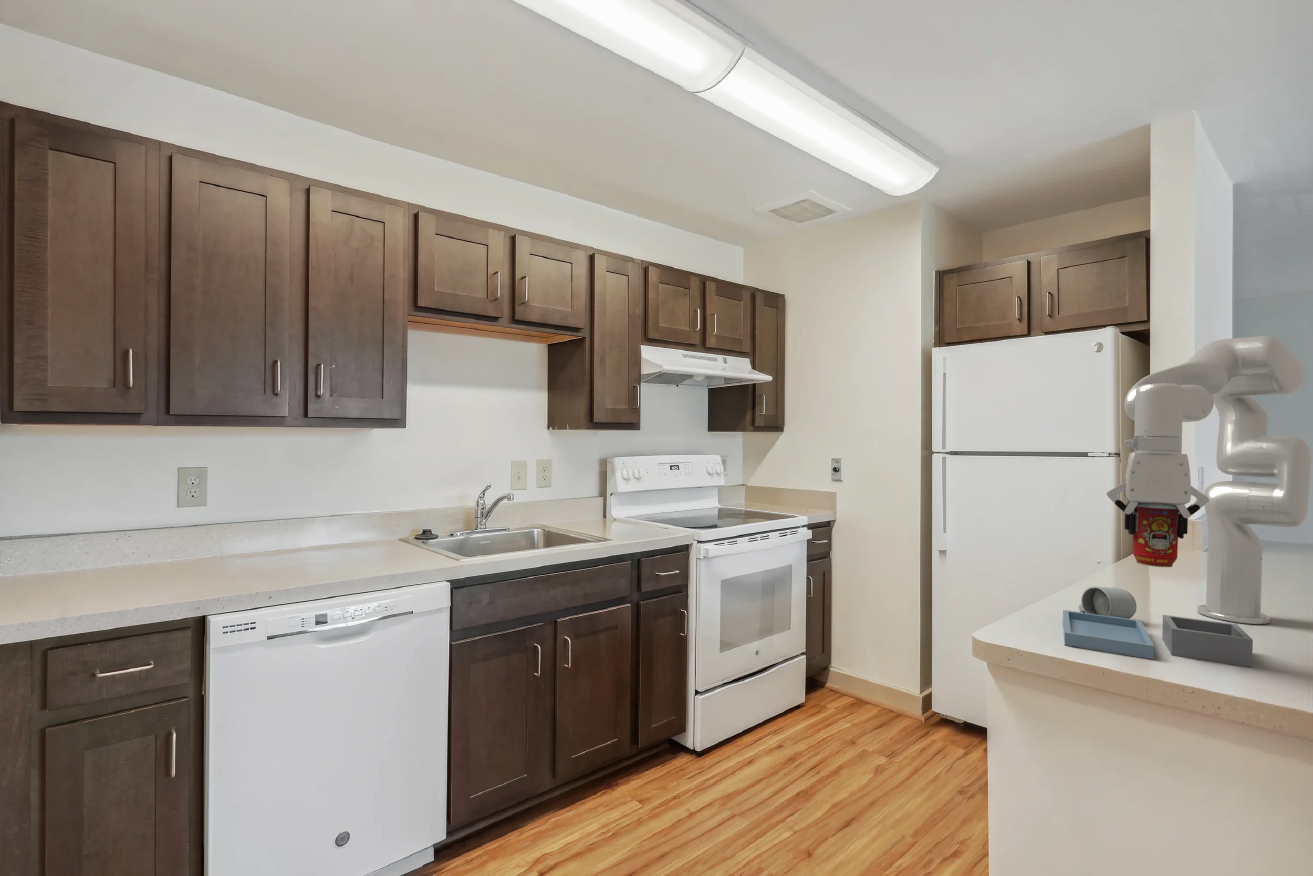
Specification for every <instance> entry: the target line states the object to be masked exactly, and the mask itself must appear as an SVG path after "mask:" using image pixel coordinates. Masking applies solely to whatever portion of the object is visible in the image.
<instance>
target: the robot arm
mask: <svg viewBox="0 0 1313 876" xmlns="http://www.w3.org/2000/svg"><path fill="white" fill-rule="evenodd" d="M1304 379H1305V371H1304V367H1303V365H1302V362H1301V361H1300V359H1299V358H1298V357H1297V356H1296V354H1295V353H1294V352H1293V351H1292V350H1291V349H1290V347H1289V346H1287V344H1286V343H1284V342H1283V341H1282V340H1280V339H1279V338H1276V337H1274V336H1270V335H1257V336H1248V337H1237V338H1236V337H1234V338H1224V339H1217V340H1214V341H1211V342H1209V343H1206V344H1205V345H1204V346H1202V347H1201V348H1200V349H1199V350H1198V351H1197V352H1196V353H1195V354H1194V355H1192V356H1191V358H1189V359H1188V360H1187V361H1186V362H1184V363H1181V364H1177V365H1174V366H1171V367H1169V368H1166V369H1163V370H1160V371H1156V372H1153V373H1151V374H1148V375H1146V376H1144V377H1142V378H1140V380H1138V381H1137V382H1136V383H1135V384H1134V385H1132V387H1131V388H1130V389H1129V390H1128V392H1127V394H1126V395H1125V398H1124V405H1123V406H1124V407H1123V408H1124V412H1125V414H1126V415H1127V417H1128V418H1129V419H1131V420H1133V422H1134V429H1133V430H1134V435H1133V438H1131V439H1125V441H1124V445H1125V447H1130V448H1131V449H1133V452H1129V455H1128V459H1127V463H1126V470H1125V477H1124V481H1123V482H1122V483H1120V484H1118V485H1117V486H1115V487H1113V488H1112V489H1110V490H1108V491H1107V492H1106V496H1107V497H1108V499H1110V501H1112V502H1113V504H1114V505H1115V506H1117V507H1118V508H1119V509H1120V510H1121V511H1122V512H1123V514H1124V525H1123V526H1124V528H1123V529H1124V530H1127V533H1128V535H1132V536H1133V534H1134V529H1135V515H1134V509H1135V507H1136V506H1137V504H1138V503H1154V504H1171V505H1175V506H1176V507H1177V508H1178V510H1179V516H1178V539H1184V535H1187V534H1188V530H1189V528H1188V526H1189V525H1188V522H1189V519H1190V517H1191V516H1193V515H1194V514H1195V513H1197V512H1198V511H1200V510H1201V509H1202V507H1204V510H1205V514H1206V515H1205V516H1206V522H1207V558H1206V563H1207V564H1206V595H1205V596H1206V597H1205V598H1206V599H1205V604H1201V605H1200V604H1199V605H1198V606H1197V610H1196V611H1197V612H1198V613H1199V614H1201V615H1203V616H1206V617H1209V618H1213V619H1217V620H1222V621H1228V622H1233V623H1241V624H1247V625H1248V624H1250V625H1251V624H1252V625H1265V624H1269V623H1270V621H1271V617H1270V616H1268V615H1267V614H1265V613H1262V611H1261V609H1262V585H1263V584H1262V581H1263V543H1262V540H1261V539H1260V537H1259V536H1258V534H1257V533H1256V532H1255V531H1254V529H1252V527H1250V525H1260V526H1269V527H1279V528H1280V527H1281V528H1297V527H1299V526H1301V525H1302V524H1304V522H1305V520H1306V519H1307V515H1308V508H1309V499H1310V498H1309V497H1310V487H1311V485H1310V484H1311V473H1312V471H1311V470H1312V453H1311V449H1310V447H1309V444H1308V443H1307V442H1306V441H1305V440H1304V439H1303V438H1300V437H1297V436H1291V435H1269V434H1268V428H1269V413H1268V412H1267V411H1266V410H1265V408H1264V407H1263V406H1262V405H1261V404H1260V403H1259V402H1258V401H1256V400H1255V399H1254V398H1252V397H1251V396H1264V395H1265V396H1269V395H1273V396H1274V395H1289V394H1292V393H1294V392H1296V391H1297V390H1299V389H1300V388H1301V386H1302V384H1303V382H1304ZM1214 406H1215V408H1216V410H1217V412H1218V416H1219V417H1218V418H1219V425H1218V432H1217V433H1218V435H1217V443H1216V444H1217V445H1216V447H1217V448H1216V467H1217V469H1218V470H1219V471H1220V472H1221V473H1223V474H1226V475H1230V476H1237V477H1239V476H1240V477H1253V478H1254V477H1255V478H1271V479H1277V480H1278V482H1279V483H1269V482H1268V483H1267V482H1256V481H1254V482H1253V481H1239V480H1237V481H1236V480H1222V481H1217V482H1216V481H1215V482H1214V483H1211V484H1210V485H1208V486H1207V487H1206V489H1205V491H1204V493H1202V492H1201V491H1200V490H1198V489H1196V488H1195V487H1193V486H1192V485H1191V469H1190V461H1189V457H1188V454H1186V453H1183V452H1182V451H1183V450H1182V449H1183V423H1189V422H1190V423H1191V422H1198V421H1199V422H1200V421H1202V420H1204V419H1206V418H1207V417H1208V416H1209V415H1210V414H1211V413H1212V411H1213V408H1214ZM1123 491H1124V492H1123ZM1120 493H1124V498H1125V499H1127V500H1128V501H1127V503H1126V504H1125V503H1124V502H1123V501H1122V500H1121V499H1120V498H1119V497H1118V495H1119V494H1120ZM1192 496H1193V497H1194V498H1195V499H1196V500H1195V502H1193V503H1192V504H1190V505H1189V506H1188V507H1186V505H1187V504H1189V503H1190V502H1191V497H1192Z"/></svg>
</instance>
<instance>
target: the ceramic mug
mask: <svg viewBox="0 0 1313 876" xmlns="http://www.w3.org/2000/svg"><path fill="white" fill-rule="evenodd" d="M1080 602H1081V603H1080V604H1079V605H1078V610H1079V612H1085V613H1089V614H1097V615H1104V616H1112V617H1119V618H1126V619H1132V618H1133V616H1135V614H1136V612H1137V601H1136V599H1135V598H1134V596H1133V594H1132V593H1130V592H1129V590H1126V589H1123V588H1121V587H1120V588H1119V587H1108V586H1094V585H1093V586H1090V587H1088V588H1087V589H1085V590H1084V591H1083V593H1082V596H1081V601H1080Z"/></svg>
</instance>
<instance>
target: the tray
mask: <svg viewBox="0 0 1313 876" xmlns="http://www.w3.org/2000/svg"><path fill="white" fill-rule="evenodd" d="M1062 630H1064V631H1063V641H1064V643H1065V644H1064V646H1066V645H1068V647H1072V646H1076V647H1075V648H1079V649H1084V650H1085V649H1086V650H1091V651H1092V650H1093V651H1098V652H1099V651H1100V652H1105V653H1111V654H1116V655H1117V654H1118V655H1123V656H1130V657H1137V658H1144V659H1147V660H1148V659H1149V660H1154V659H1155V645H1154V643H1153V641H1152V640H1151V637H1150V635H1149V633H1148V631H1147V628H1146V627H1145V626H1144V624H1143V621H1142V620H1140V619H1134V618H1130V619H1126V618H1119V617H1112V616H1104V615H1097V614H1089V613H1082V612H1080V611H1073V610H1067V609H1066V610H1065V609H1063V610H1062Z"/></svg>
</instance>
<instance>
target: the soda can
mask: <svg viewBox="0 0 1313 876" xmlns="http://www.w3.org/2000/svg"><path fill="white" fill-rule="evenodd" d="M1133 515H1135V529H1134V534H1133V535H1132V554H1133V556H1134V558H1135V560H1136V564H1138V565H1139V564H1140V565H1142V566H1143V565H1144V566H1147V567H1148V566H1149V567H1156V568H1157V567H1158V568H1172V567H1173V565H1174V563H1175V562H1176V561H1177V560H1178V553H1179V552H1178V550H1179V549H1178V548H1179V547H1178V546H1179V538H1178V516H1179V510H1178V508H1177V507H1176V506H1175V505H1171V504H1154V503H1138V504H1137V506H1136V507H1135V509H1134V510H1133Z"/></svg>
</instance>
